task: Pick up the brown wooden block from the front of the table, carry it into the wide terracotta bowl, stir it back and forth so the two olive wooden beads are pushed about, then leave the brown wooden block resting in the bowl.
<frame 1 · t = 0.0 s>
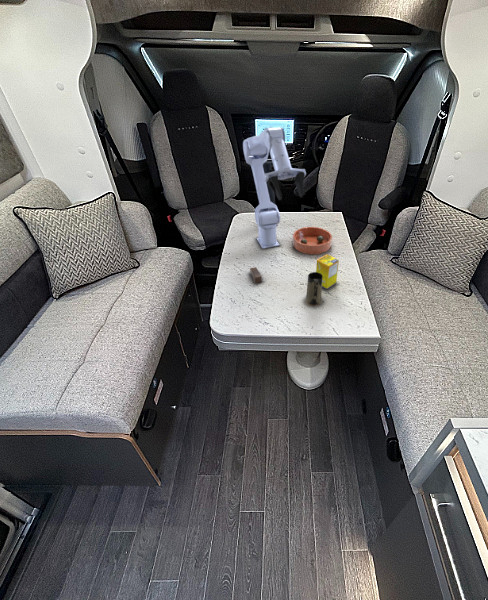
hand: (291, 197, 114), 32 cm above the table, tool tilted 50°, fingers open, 7 cm apart
bead 1: (320, 242, 154), point 1 cm above the table, touching bowl
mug: (313, 303, 122), on the table
bowl: (311, 244, 154), on the table
brown wooden block: (255, 277, 134), on the table
supplement box: (325, 284, 131), on the table
wine bottle: (268, 224, 169), on the table
bead 2: (303, 245, 152), point 1 cm above the table, touching bowl
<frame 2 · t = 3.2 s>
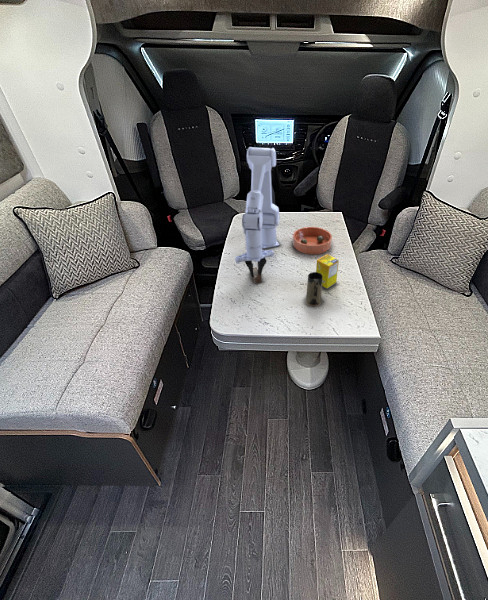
hand: (255, 274, 133), 1 cm above the table, tool pointing down, fingers closed on brown wooden block, 2 cm apart
brown wooden block: (256, 277, 134), on the table, touching gripper
everything else where it was.
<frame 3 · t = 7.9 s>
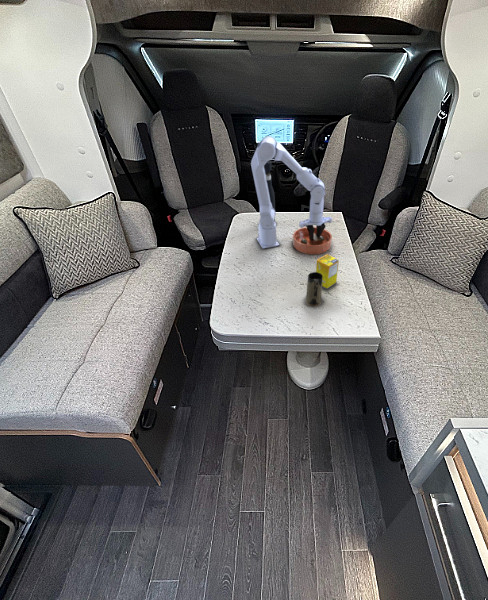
hand: (314, 239, 152), 3 cm above the table, tool pointing down, fingers closed on brown wooden block, 2 cm apart
bead 1: (320, 242, 155), point 1 cm above the table, tilted 5°, touching bowl, gripper
brown wooden block: (314, 242, 153), point 1 cm above the table, touching gripper
everything else where it was.
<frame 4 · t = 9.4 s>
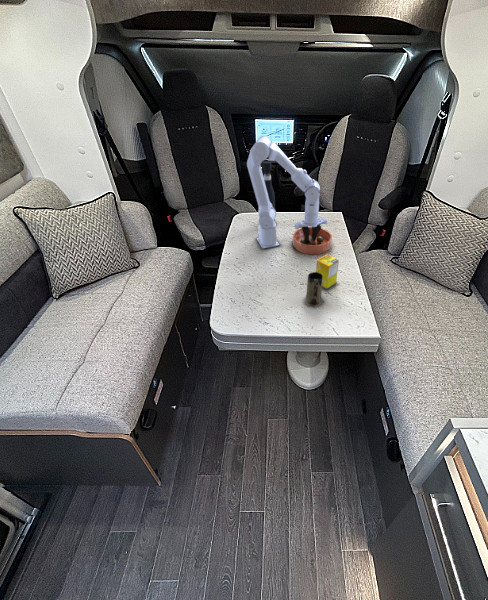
hand: (310, 240, 151), 3 cm above the table, tool pointing down, fingers closed on brown wooden block, 3 cm apart
bead 1: (320, 242, 154), point 1 cm above the table, tilted 20°, touching bowl
brown wooden block: (309, 244, 152), point 1 cm above the table, tilted 11°, touching gripper
bead 2: (303, 245, 152), point 1 cm above the table, tilted 10°, touching bowl, gripper
everything else where it was.
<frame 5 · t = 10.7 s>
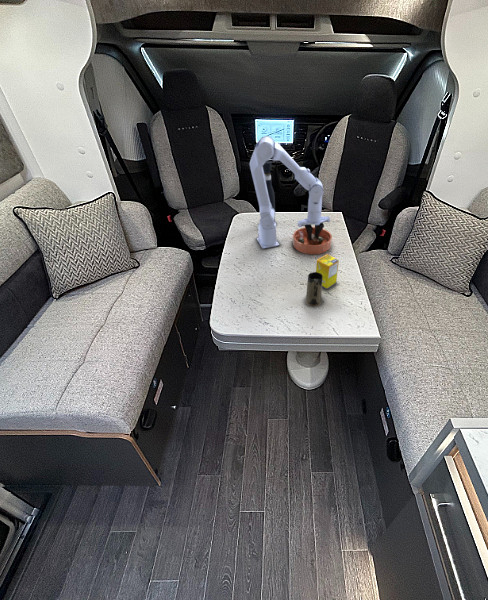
hand: (312, 238, 153), 3 cm above the table, tool pointing down, fingers closed on brown wooden block, 3 cm apart
bead 1: (320, 241, 154), point 1 cm above the table, tilted 35°, touching bowl, gripper
brown wooden block: (312, 242, 154), point 1 cm above the table, tilted 10°, touching gripper
bead 2: (301, 244, 152), point 1 cm above the table, tilted 27°, touching bowl
everything else where it was.
when the fingers open (3 cm above the table, at t = 12.2 s): brown wooden block stays where it is, resting on bowl.
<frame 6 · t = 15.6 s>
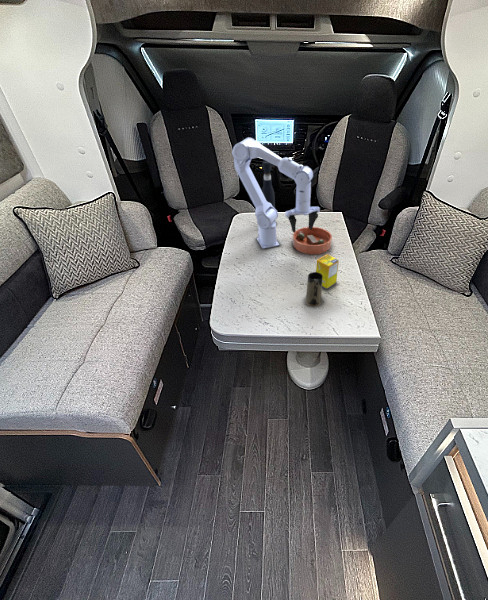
hand: (302, 230, 145), 9 cm above the table, tool pointing down, fingers open, 7 cm apart
bead 1: (320, 240, 152), point 3 cm above the table, tilted 108°, touching bowl
brown wooden block: (312, 243, 153), point 1 cm above the table, touching bowl
bead 2: (302, 233, 155), point 4 cm above the table, tilted 162°, touching bowl
everything else where it was.
at the end: bead 1 moved 2.6 cm from its start; brown wooden block inside the target area in the bowl (0.1 cm from its centre), point 0.6 cm above the bowl's base; the gripper is holding nothing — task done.
